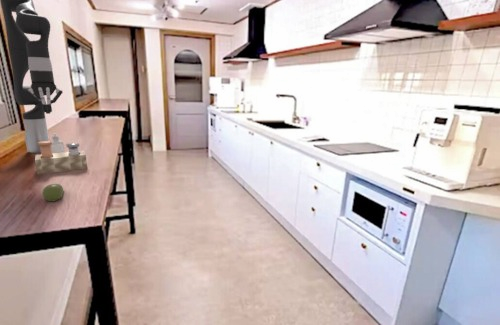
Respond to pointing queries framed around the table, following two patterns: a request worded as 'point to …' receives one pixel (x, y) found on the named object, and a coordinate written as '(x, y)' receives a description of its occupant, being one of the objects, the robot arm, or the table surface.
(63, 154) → the beige rectangular block
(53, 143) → the eye dropper bottle
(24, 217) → the table surface
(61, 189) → the green rounded lump
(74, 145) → the steel plunger
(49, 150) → the terracotta plunger
